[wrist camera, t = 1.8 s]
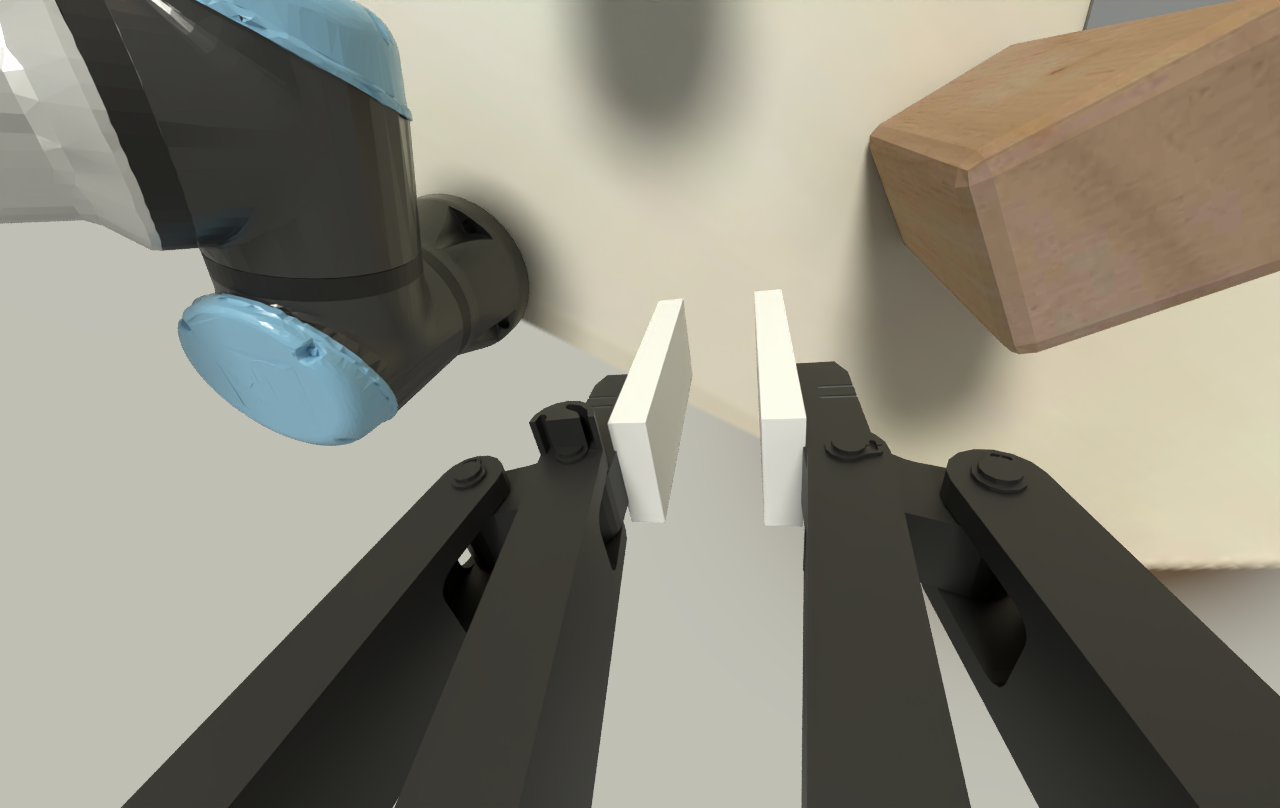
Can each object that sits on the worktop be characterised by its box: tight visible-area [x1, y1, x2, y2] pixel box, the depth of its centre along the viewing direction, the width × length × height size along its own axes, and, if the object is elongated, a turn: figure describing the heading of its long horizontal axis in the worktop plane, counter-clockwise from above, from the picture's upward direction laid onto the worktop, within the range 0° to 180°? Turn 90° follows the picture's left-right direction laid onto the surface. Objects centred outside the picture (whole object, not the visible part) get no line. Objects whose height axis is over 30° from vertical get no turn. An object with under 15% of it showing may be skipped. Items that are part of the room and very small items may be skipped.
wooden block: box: [869, 0, 1280, 354], centre depth 25 cm, size 10×10×20 cm
